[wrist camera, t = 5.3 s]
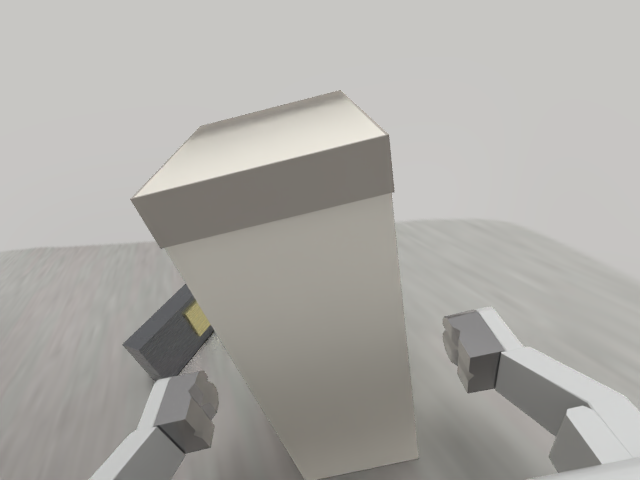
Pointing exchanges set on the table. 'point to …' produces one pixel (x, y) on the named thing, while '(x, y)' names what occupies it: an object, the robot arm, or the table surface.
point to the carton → (298, 273)
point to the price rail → (170, 336)
